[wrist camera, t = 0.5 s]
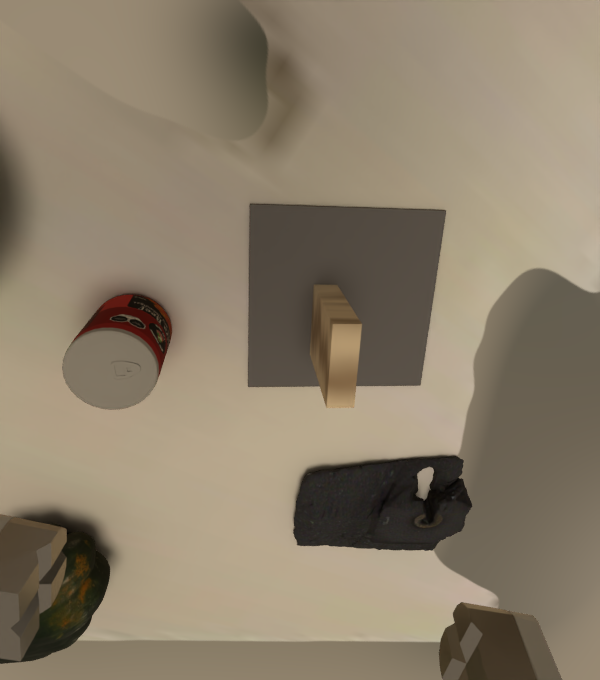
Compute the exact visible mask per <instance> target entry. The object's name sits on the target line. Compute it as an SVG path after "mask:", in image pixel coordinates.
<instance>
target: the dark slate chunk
mask: <svg viewBox="0 0 600 680" xmlns="http://www.w3.org/2000/svg"><path fill="white" fill-rule="evenodd" d="M427 467H432V468H433V469H434V474H433V480H432V482H431V483H430V489H431V490H430V491H429V493H428V496H427V499H426V500H424V501H423V499H422V498H418V497H417V496H416V495H415V494H416V493H417V491H418V479H417V473H419V472H420V471H421V470H422V469H424V468H427ZM462 468H463V460H462V459H460V458H458V457H456V456H455V457H453V458H452V457H447V458H440V459H434V458H432V459H411V460H400V461H398V460H397V461H392V462H389V463H384V464H377V465H375V464H373V465H371V464H368V465H365V466H354V467H350V468H349V467H348V468H339V469H335V470H322V471H317V472H312V473H309V474H307V475H306V476H305V477H304V479H303V481H302V483H301V487H300V493H299V497H298V499H297V501H296V503H297V504H296V514H295V517H294V526H295V529H294V532H293V533H294V537H295V539H296V540H297V543H298V544H297V545H300V546H320V545H329V546H337V547H342V546H345V547H354V548H369V549H371V548H376V549H378V550H381V549H386V550H387V549H389V550H402V549H403V550H425V551H427V550H433V549H434V548H435V547H436V545H437V543H438V542H439V541H440V540H443V539H445V538H446V537H448V536H452V535H454V534H455V533H457V532H460V531H461V530H462V529H463V527H464V521H465V516H466V515H467V514H468V512H469V510H470V508H471V507H472V503H471V501H470V498H469V497H468V494H467V490H466V488H465V486H464V482H463V479H459V478H458V477H459V476H460V475H461V474H462Z"/></svg>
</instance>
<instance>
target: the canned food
mask: <svg viewBox="0 0 600 680" xmlns="http://www.w3.org/2000/svg"><path fill="white" fill-rule="evenodd" d="M171 334H172V328H171V323H170V319H169V317H168V316H167V314H166V312H165V311H164V310H163V308H162V307H161V306H160V305H159V304H157V303H156V302H155V301H153V300H151V299H149V298H147V297H144V296H140V295H122V296H117V297H114V298H112V299H110V300H108V301H107V302H105V303H104V304H103V305H102V306H101V307H100V308H99V309H98V310H97V311H96V313H95V314H94V315H93V316H92V318H91V319H90V320H89V321H88V323H87V324H86V325H85V326H84V328H83V329H82V330H81V331H80V333H79V334H78V335H77V336H76V338H75V339H74V340H73V342H72V343H71V345H70V346H69V348H68V349H67V351H66V353H65V356H64V359H63V366H62V370H63V376H64V379H65V381H66V384H67V385H68V387H69V388H70V390H71V391H72V392H73V393H74V394H75V395H76V396H77V397H78V398H79V399H81V400H82V401H84V402H85V403H87V404H90V405H92V406H95V407H98V408H102V409H109V410H114V409H124V408H128V407H131V406H134V405H136V404H138V403H139V402H141V401H143V400H144V399H145V398H146V397H147V396H148V395H149V394H150V393H151V391H152V390H153V388H154V387H155V385H156V382H157V380H158V377H159V375H160V372H161V368H162V365H163V362H164V359H165V356H166V353H167V349H168V346H169V343H170V340H171Z"/></svg>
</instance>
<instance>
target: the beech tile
mask: <svg viewBox="0 0 600 680" xmlns="http://www.w3.org/2000/svg"><path fill="white" fill-rule="evenodd" d="M361 330H362V323H361V322H360V320H359V319H358V317H357V315H356V314H355V312H354V311H353V309H352V307H351V306H350V304H349V303H348V301H347V300H346V298H345V296H344V295H343V293H342V292H341V290H340V288H339V287H338V285H315V284H314V289H313V307H312V324H311V341H310V357H311V360H312V363H313V366H314V369H315V373H316V376H317V379H318V382H319V385H320V388H321V392H322V395H323V398H324V401H325V404H326V408H354V402H355V392H356V382H357V371H358V361H359V350H360V340H361Z"/></svg>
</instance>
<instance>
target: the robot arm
mask: <svg viewBox="0 0 600 680" xmlns="http://www.w3.org/2000/svg"><path fill="white" fill-rule="evenodd" d="M66 542H67V529H65V528H63V527H58V526H54V525H49V524H45V523H40V522H35V521H31V520H26V519H22V518H17V517H11V516H6V515H2V514H0V658H2V659H8V660H15V661H21V660H22V658H23V656H24V655H25V653H26V651H27V649H28V647H29V646H30V644H31V642H32V640H33V638H34V637H35V635H36V633H37V631H38V629H39V614H41V613H42V612H44V611H45V610H47V609H48V608H50V607H51V606H52V604H53V602H54V600H55V598H56V596H57V594H58V592H59V590H60V587H61V584H62V581H63V579H64V575H65V570H66V558H67V557H66V556H65V555H64V553H63V552H62V551H61V550H62V549H63V547H64V545H65V543H66ZM453 617H454V621H455V623H454V624H452V625H450V626H449V627H447V628H446V629H445V631H444V633H443V635H442V638H441V642H440V650H439V662H440V670H441V675H442V679H443V680H562V678H561V676H560V673H559V672H558V668H557V666H556V664H555V661H554V659H553V656H552V654H551V652H550V649H549V647H548V645H547V642H546V640H545V637H544V635H543V633H542V630H541V628H540V625H539V623H538V621H537V620H536V618H535V617H534V616H533V615H528V614H522V613H517V612H512V611H506V610H502V609H497V608H491V607H486V606H480V605H474V604H469V603H463V602H461V603H460V604H458V605H457V606H456V608H455V610H454V612H453Z"/></svg>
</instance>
